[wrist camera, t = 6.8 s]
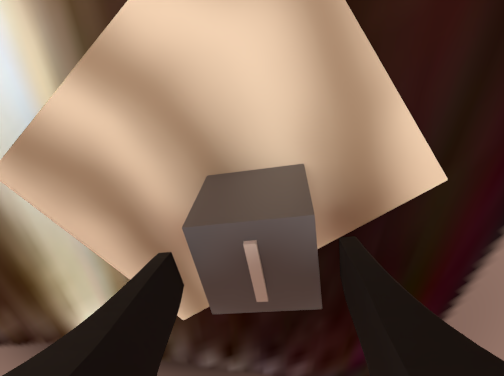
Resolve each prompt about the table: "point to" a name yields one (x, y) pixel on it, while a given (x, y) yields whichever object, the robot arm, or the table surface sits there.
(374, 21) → the table surface
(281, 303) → the grey cube
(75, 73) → the board
